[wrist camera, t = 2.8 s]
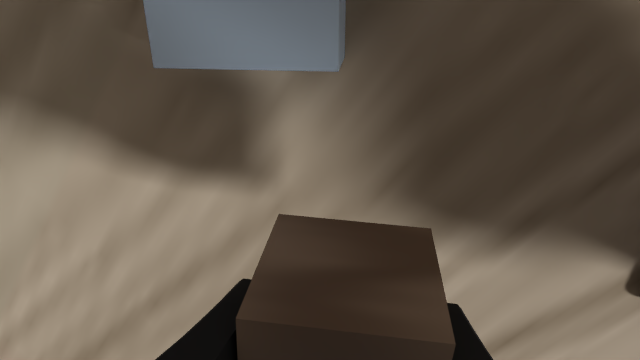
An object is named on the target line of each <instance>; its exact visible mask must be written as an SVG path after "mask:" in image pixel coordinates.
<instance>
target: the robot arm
mask: <svg viewBox="0 0 640 360" xmlns="http://www.w3.org/2000/svg"><path fill="white" fill-rule="evenodd" d="M250 283H251V280H250V279H242V280H241V281H239V282H238V283H237V284H236V285H235V286H234V287H233V288H232V289H231V291H230V292H229V293H228V294H227V295H226V296H225V297H224V298H223V299H222V300H221V301H220V302H219V303H218V304H217V305H216V306H215V307H214V308H213V309H212V310H211V311H210V312H209V313H208V314H206V315H205V316H204V317H203V318H202V319H201V320H200V321H199V322H198V323H197V324H196V325H195V326H194V327H193V328H191V329H190V330H189V331H188V332H187V333H186V334H185V335H184V336H183V337H182V338H180V339H179V340H178V341H177V342H176V343H174V344H173V345H172V346H171V347H170V348H169V349H167V350H166V351H165V352H164V353H163V354H161V355H160V356H159V357H158V358H157V359H156V360H238V357H237V336H236V317H237V314H238V312H239V309H240V307H241V304H242V302H243V300H244V297H245V295H246V292H247V290H248V287H249V285H250ZM447 306H448V311H449V315H450V320H451V325H452V329H453V334H454V339H455V343H456V345H455V350H454V354H453V358H452V360H493V358H492V357H491V356H490V354H489V353H488V351H487V350H486V348H485V346H484V345H483V343H482V342H481V340H480V339H479V337H478V336H477V334H476V332H475V331H474V329H473V328H472V326H471V324H470V323H469V321H468V319H467V318H466V316H465V314H464V313H463V311H462V309H461V308H460V307H459V305H458V304H452V303H447Z"/></svg>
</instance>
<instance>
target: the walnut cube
mask: <svg viewBox="0 0 640 360" xmlns="http://www.w3.org/2000/svg"><path fill="white" fill-rule="evenodd" d="M236 336H237V357H238V360H452V358H453V354H454V350H455V345H456V343H455V339H454V334H453V329H452V325H451V320H450V315H449V311H448V306H447V301H446V297H445V292H444V287H443V283H442V278H441V273H440V269H439V264H438V259H437V255H436V250H435V245H434V241H433V236H432V231H431V229H429V228H419V227H408V226H398V225H387V224H377V223H366V222H356V221H346V220H335V219H325V218H314V217H304V216H293V215H283V214H279V215H278V217H277V220H276V222H275V224H274V227H273V229H272V232H271V234H270V237H269V239H268V241H267V244H266V246H265V249H264V251H263V254H262V256H261V258H260V261H259V263H258V266H257V268H256V271H255V273H254V275H253V278H252V280H251V283H250V285H249V287H248V290H247V292H246V295H245V297H244V300H243V302H242V304H241V307H240V309H239V312H238V314H237V317H236Z"/></svg>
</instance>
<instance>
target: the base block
mask: <svg viewBox="0 0 640 360" xmlns="http://www.w3.org/2000/svg"><path fill="white" fill-rule="evenodd" d="M143 3H144V10H145V16H146V22H147V29H148V35H149V41H150V47H151V54H152V60H153V66H154V68H176V69H228V70H281V71H333V72H338V71H339V69H340V67H341V65H342V62H343V60H344V58H345V13H346V0H143Z"/></svg>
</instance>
